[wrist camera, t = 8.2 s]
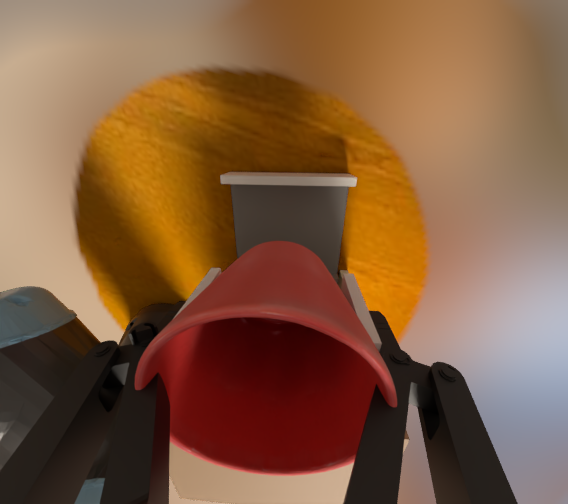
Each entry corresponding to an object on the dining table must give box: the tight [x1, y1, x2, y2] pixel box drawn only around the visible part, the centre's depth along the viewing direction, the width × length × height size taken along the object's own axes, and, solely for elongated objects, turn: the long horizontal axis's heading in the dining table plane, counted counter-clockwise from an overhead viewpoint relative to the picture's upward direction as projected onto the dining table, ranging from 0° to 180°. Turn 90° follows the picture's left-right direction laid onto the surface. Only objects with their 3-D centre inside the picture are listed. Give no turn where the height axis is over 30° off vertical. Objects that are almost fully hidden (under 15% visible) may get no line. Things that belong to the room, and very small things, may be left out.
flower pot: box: [135, 241, 397, 476], centre depth 13 cm, size 11×11×10 cm
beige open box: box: [169, 270, 410, 504], centre depth 27 cm, size 18×14×21 cm
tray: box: [220, 171, 357, 284], centre depth 28 cm, size 15×14×4 cm
